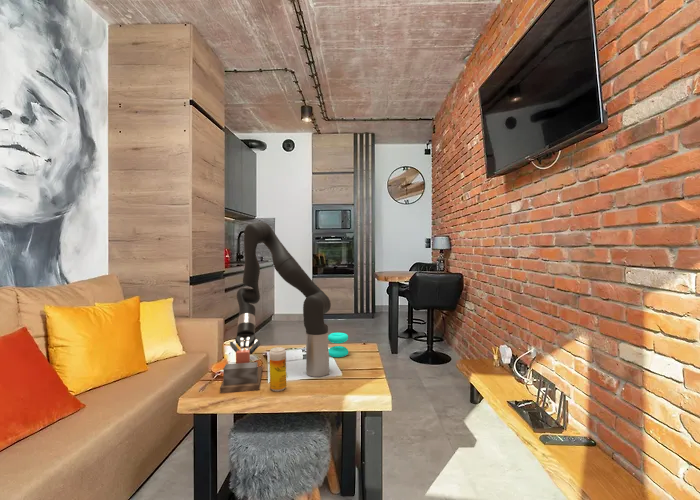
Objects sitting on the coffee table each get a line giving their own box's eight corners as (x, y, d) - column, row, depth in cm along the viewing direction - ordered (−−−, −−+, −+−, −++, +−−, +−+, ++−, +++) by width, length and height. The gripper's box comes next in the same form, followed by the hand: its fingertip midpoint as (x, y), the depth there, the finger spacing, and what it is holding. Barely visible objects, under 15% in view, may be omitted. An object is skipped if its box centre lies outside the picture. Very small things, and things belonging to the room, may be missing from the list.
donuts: (326, 332, 183) (345, 331, 185) (326, 352, 183) (345, 351, 185) (329, 337, 173) (350, 336, 175) (329, 359, 173) (350, 357, 176)
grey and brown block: (262, 371, 158) (261, 352, 158) (259, 390, 139) (258, 369, 138) (228, 373, 156) (227, 354, 156) (220, 393, 136) (219, 371, 136)
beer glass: (282, 392, 136) (282, 352, 136) (267, 391, 138) (266, 351, 137) (288, 386, 142) (288, 347, 142) (273, 384, 144) (273, 346, 143)
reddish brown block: (250, 371, 152) (249, 349, 151) (249, 374, 149) (249, 352, 148) (237, 372, 151) (236, 350, 151) (236, 375, 148) (236, 352, 148)
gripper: (229, 322, 159) (225, 359, 148) (261, 320, 162) (259, 357, 150) (231, 331, 165) (228, 368, 153) (262, 329, 167) (261, 365, 156)
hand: (243, 362), depth 152 cm, fingers closed
